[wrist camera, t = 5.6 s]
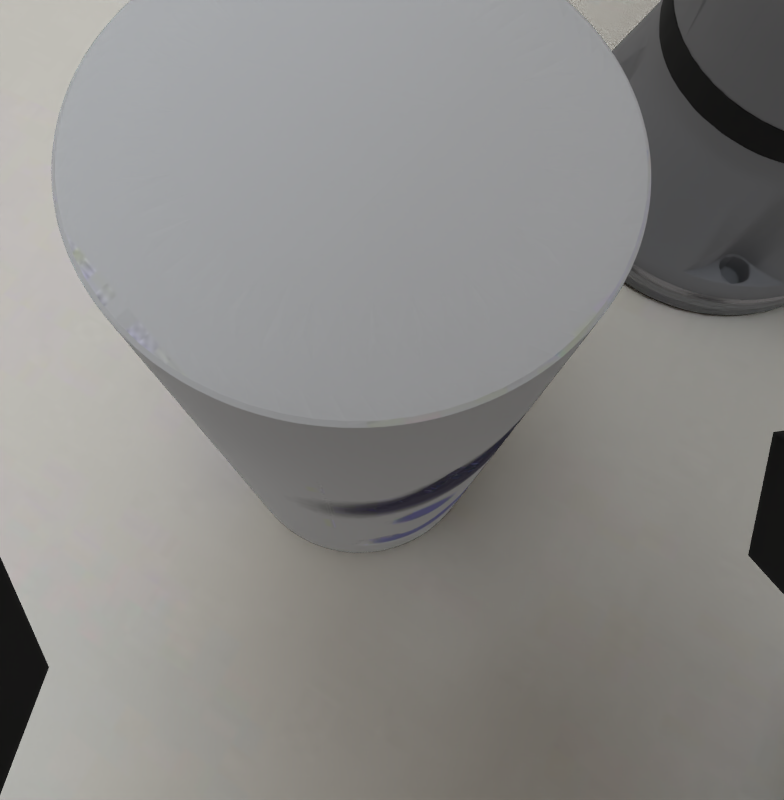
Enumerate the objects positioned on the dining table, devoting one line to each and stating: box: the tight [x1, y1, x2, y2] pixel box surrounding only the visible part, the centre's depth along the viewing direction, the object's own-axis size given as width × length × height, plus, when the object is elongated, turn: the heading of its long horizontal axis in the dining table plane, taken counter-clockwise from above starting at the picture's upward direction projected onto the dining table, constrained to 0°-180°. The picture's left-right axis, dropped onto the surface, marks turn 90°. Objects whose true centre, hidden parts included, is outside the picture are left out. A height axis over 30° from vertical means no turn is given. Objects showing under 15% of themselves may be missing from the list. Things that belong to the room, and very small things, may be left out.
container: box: [51, 0, 651, 553], centre depth 21 cm, size 10×10×20 cm
